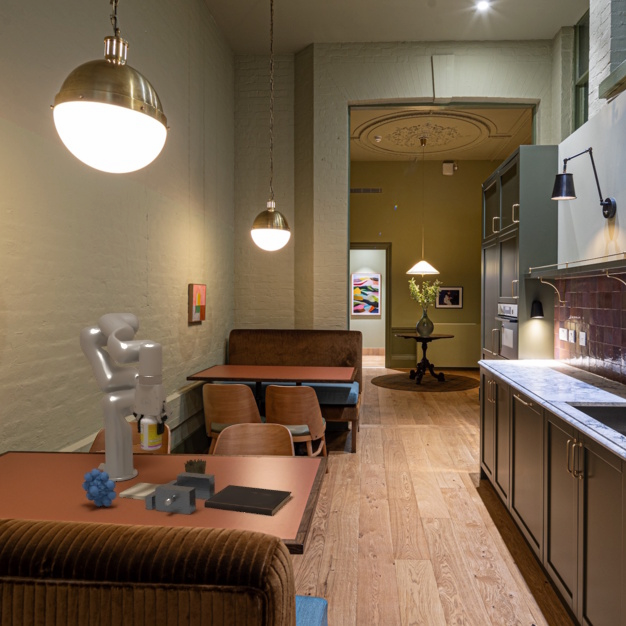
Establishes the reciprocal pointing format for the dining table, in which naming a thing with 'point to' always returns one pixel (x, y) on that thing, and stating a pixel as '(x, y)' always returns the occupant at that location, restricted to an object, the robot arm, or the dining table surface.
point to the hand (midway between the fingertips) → (151, 432)
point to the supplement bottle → (150, 433)
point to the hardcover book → (248, 500)
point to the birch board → (139, 491)
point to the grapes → (99, 488)
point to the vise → (181, 493)
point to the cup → (195, 466)
